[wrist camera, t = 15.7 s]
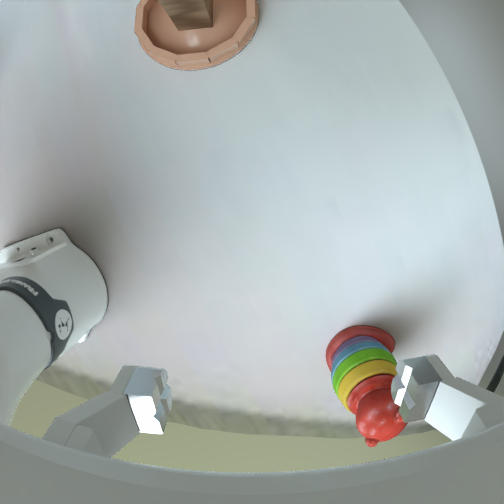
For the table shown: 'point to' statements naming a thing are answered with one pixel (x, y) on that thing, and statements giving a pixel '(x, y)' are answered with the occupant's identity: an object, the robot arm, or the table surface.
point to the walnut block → (189, 13)
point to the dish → (196, 34)
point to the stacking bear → (366, 380)
